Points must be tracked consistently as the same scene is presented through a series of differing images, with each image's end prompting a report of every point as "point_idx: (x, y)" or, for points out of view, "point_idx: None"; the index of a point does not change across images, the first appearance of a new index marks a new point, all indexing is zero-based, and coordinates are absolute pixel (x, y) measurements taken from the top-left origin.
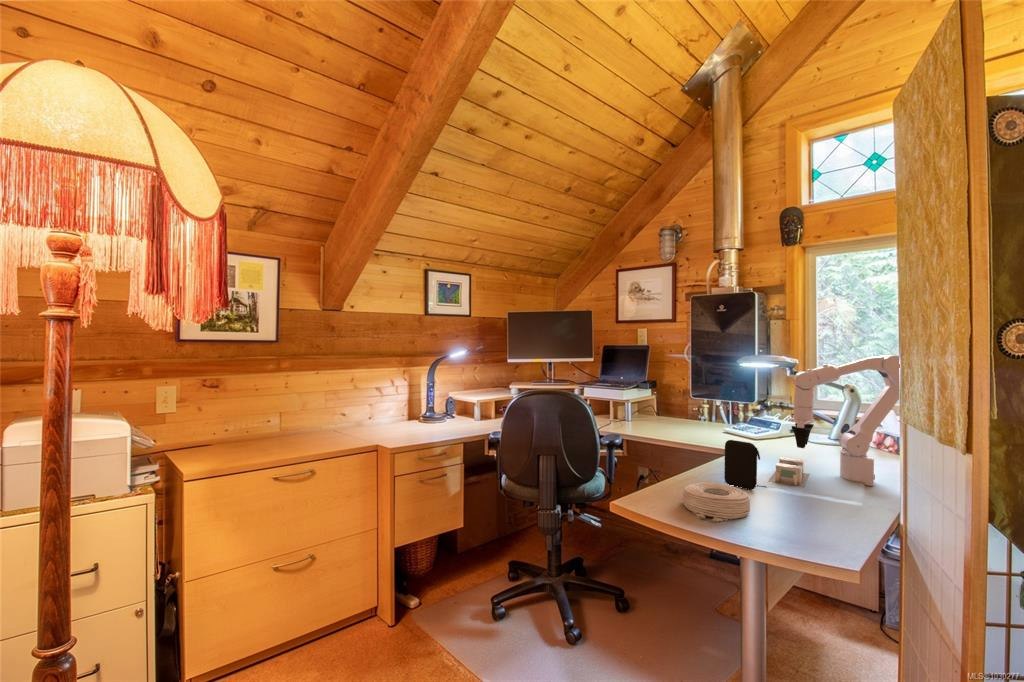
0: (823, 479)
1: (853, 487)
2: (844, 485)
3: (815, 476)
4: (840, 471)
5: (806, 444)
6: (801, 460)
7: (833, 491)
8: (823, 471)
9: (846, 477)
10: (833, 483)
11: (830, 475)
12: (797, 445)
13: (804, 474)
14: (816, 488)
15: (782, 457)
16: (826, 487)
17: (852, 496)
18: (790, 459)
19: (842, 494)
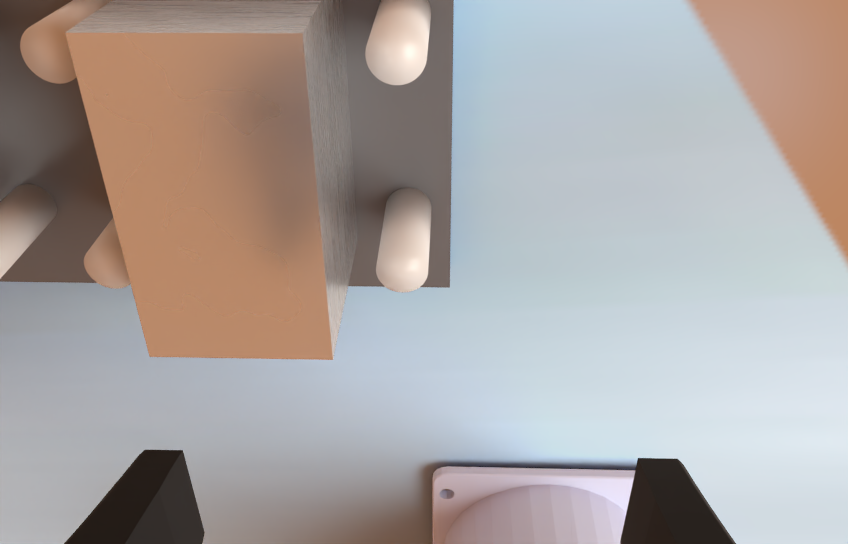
0: (426, 370)
1: (309, 537)
2: (324, 494)
3: (510, 308)
4: (526, 539)
5: (623, 541)
6: (274, 332)
7: (41, 440)
8: (811, 357)
9: (456, 540)
10: (328, 435)
11: (650, 411)
12: (118, 486)
13: (371, 242)
14: (9, 339)
15: (269, 63)
16: (127, 399)
17: (20, 530)
18: (210, 198)
19: (11, 486)
